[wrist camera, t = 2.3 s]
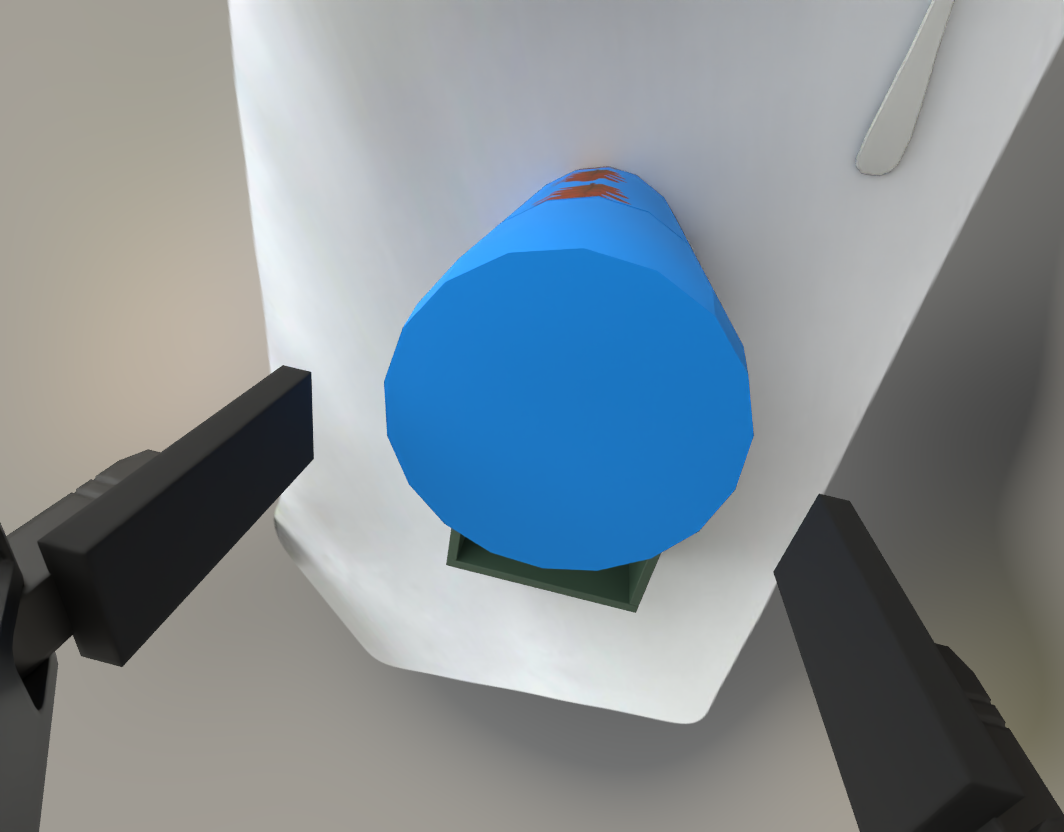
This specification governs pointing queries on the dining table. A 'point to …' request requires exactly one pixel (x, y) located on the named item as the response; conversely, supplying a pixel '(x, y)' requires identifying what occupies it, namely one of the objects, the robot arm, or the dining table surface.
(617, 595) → the box
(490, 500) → the thermos
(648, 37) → the dining table surface
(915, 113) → the fork
